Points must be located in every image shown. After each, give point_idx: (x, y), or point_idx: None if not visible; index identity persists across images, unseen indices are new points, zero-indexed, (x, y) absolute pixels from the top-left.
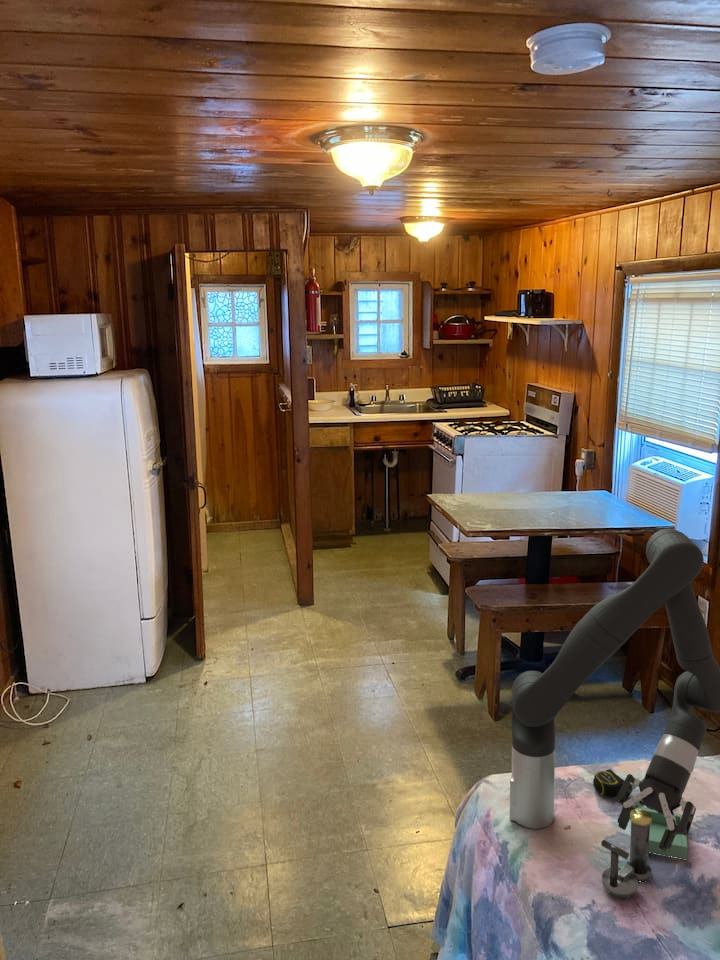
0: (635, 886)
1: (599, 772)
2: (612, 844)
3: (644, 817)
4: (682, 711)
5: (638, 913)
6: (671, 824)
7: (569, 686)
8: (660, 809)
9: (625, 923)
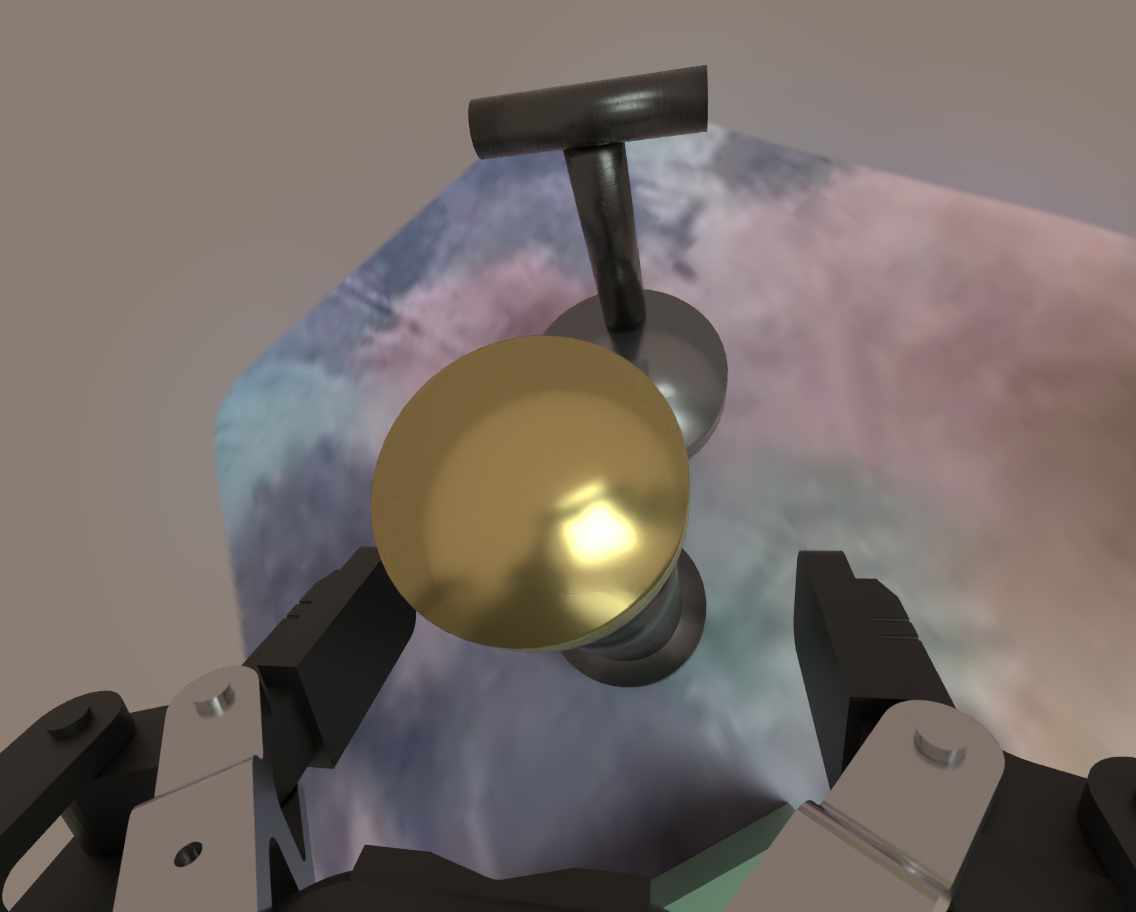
0: None
1: None
2: (614, 93)
3: (463, 471)
4: None
5: None
6: (195, 722)
7: None
8: (334, 891)
9: (514, 276)
